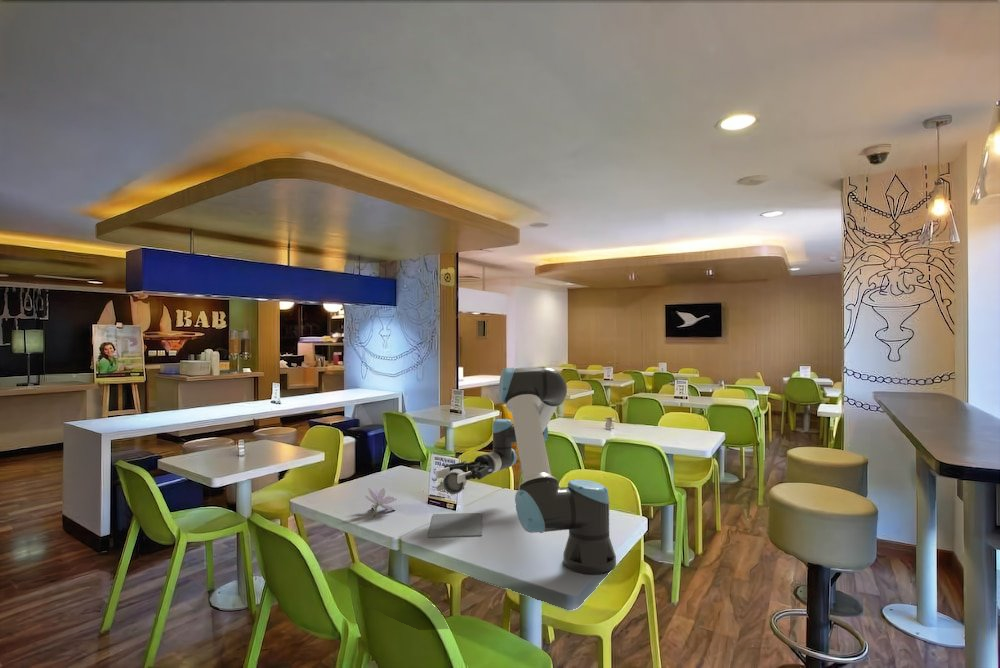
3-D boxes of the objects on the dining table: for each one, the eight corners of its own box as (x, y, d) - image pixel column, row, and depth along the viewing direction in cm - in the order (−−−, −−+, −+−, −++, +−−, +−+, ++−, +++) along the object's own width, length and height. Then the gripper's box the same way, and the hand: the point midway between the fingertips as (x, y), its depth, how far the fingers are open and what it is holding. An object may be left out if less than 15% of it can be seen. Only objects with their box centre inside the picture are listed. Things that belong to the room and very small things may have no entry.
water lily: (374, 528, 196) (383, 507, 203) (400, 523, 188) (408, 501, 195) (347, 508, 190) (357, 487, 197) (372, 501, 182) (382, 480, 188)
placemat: (481, 536, 169) (481, 534, 169) (427, 537, 168) (427, 536, 168) (481, 513, 191) (481, 512, 191) (433, 515, 190) (433, 514, 190)
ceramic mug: (467, 487, 184) (467, 466, 184) (464, 494, 176) (463, 472, 176) (438, 487, 185) (438, 466, 185) (434, 494, 176) (433, 472, 177)
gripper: (510, 478, 187) (471, 493, 169) (465, 469, 201) (424, 482, 183) (510, 458, 187) (471, 470, 170) (465, 450, 201) (424, 461, 183)
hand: (447, 476), depth 176 cm, fingers closed on ceramic mug, 10 cm apart
